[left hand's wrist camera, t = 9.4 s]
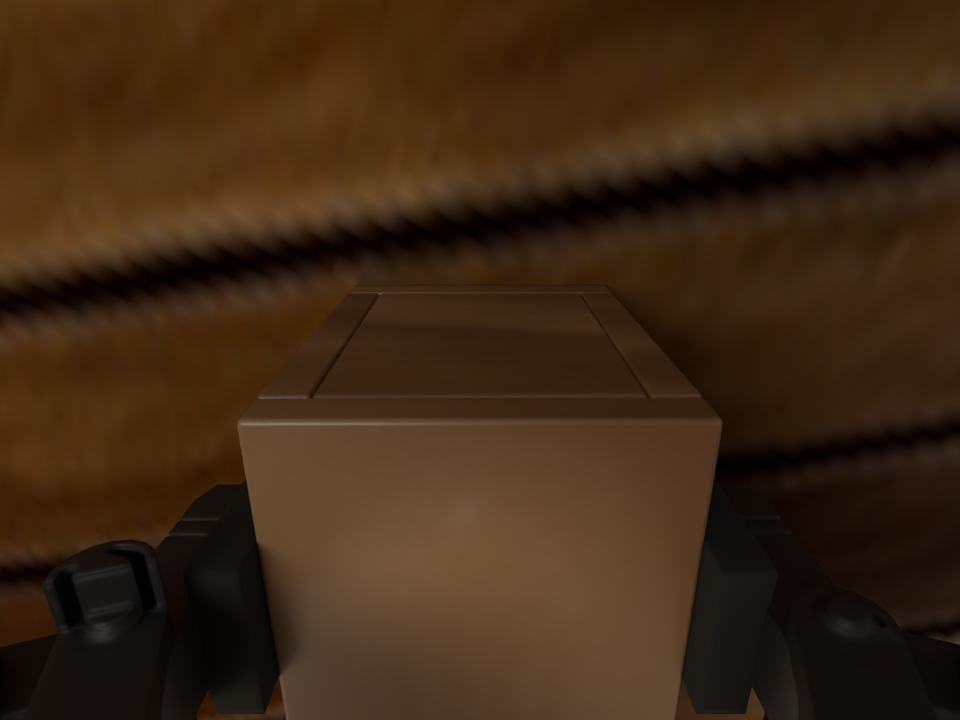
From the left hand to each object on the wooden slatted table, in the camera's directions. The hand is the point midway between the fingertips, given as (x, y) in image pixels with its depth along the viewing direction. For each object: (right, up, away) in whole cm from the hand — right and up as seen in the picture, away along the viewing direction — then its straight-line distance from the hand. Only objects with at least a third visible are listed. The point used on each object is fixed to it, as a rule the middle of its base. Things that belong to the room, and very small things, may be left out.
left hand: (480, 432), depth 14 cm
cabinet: (0, -4, +4) cm, 5 cm away
